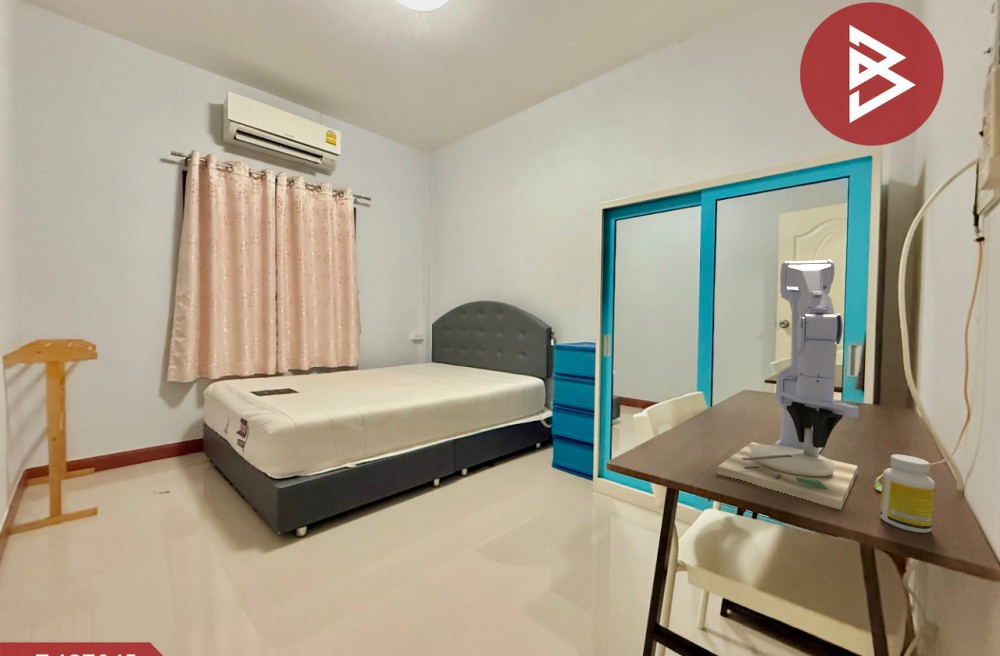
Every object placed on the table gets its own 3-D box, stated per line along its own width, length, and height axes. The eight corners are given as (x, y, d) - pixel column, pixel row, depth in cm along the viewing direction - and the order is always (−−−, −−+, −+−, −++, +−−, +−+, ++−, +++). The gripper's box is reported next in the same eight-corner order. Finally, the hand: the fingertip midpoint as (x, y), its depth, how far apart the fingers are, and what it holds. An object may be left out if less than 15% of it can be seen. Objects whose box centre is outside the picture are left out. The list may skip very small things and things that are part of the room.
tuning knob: (773, 480, 69) (775, 444, 68) (716, 453, 81) (718, 423, 81) (852, 473, 73) (854, 439, 72) (786, 448, 85) (787, 420, 85)
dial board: (751, 448, 91) (752, 441, 91) (857, 473, 78) (857, 464, 78) (717, 473, 76) (717, 465, 76) (841, 510, 63) (841, 499, 63)
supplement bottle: (942, 536, 56) (948, 467, 55) (897, 531, 57) (902, 463, 57) (911, 517, 61) (916, 454, 61) (870, 512, 62) (874, 450, 62)
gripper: (766, 370, 84) (762, 433, 85) (839, 382, 70) (834, 459, 71) (793, 369, 86) (789, 432, 86) (869, 382, 72) (864, 456, 72)
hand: (811, 444), depth 79 cm, fingers closed on tuning knob, 2 cm apart
